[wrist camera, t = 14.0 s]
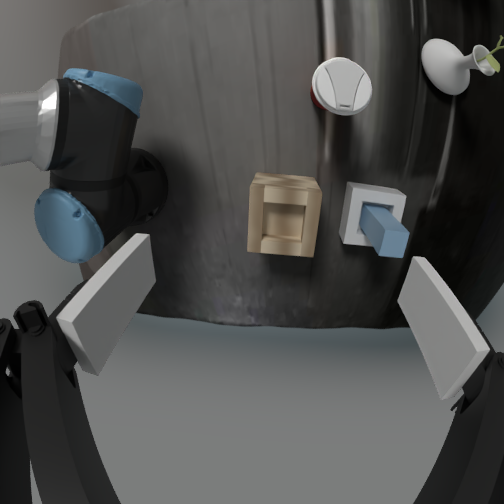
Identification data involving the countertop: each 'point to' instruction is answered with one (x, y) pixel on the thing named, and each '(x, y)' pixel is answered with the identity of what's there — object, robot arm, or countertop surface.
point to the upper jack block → (283, 214)
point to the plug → (383, 231)
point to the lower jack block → (353, 207)
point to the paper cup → (341, 87)
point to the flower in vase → (455, 64)
